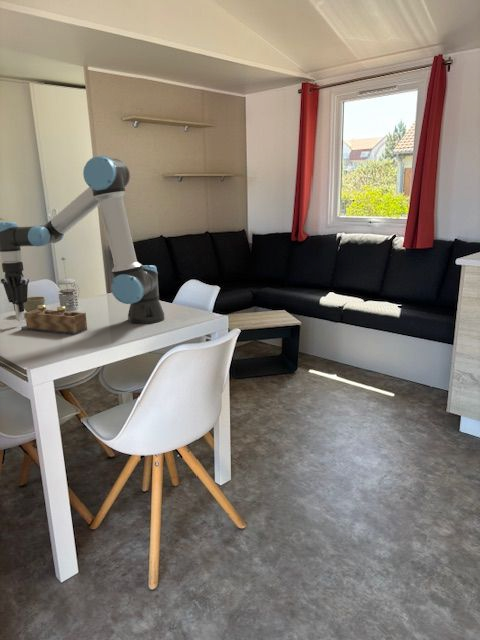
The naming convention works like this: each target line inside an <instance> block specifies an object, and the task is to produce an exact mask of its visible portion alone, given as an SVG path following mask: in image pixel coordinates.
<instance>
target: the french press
mask: <svg viewBox="0 0 480 640" xmlns="http://www.w3.org/2000/svg"><path fill="white" fill-rule="evenodd" d="M66 260H67V259H66V257H63V256H62V257H61V261H66ZM63 266H64V267H63V268H64V270H66V266H65V263H63ZM64 274H65V275H64V276H65V277H64V278H62V279H60V280H58V281H57V282H56V284H57V285H66V286H68V285H70V286H71V287H73V288H66V289H61V290H59V291H58V293H59V294H58V300H59V305H60V306H65V308H66V311H69V312H81V311H82V310H81V308H79V303H78V302H79V301H78V298H79V297H80V293H77V288H78V290H80V286H79V285H78V284H77V283H76V280H75V279H74V278H67V274H66V272H64ZM76 286H77V287H76ZM60 306H59V307H60Z"/></svg>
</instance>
